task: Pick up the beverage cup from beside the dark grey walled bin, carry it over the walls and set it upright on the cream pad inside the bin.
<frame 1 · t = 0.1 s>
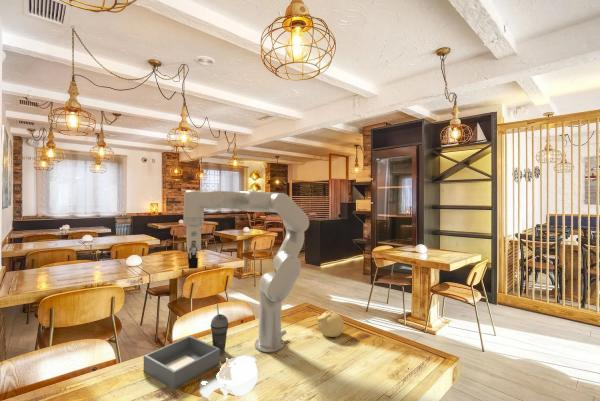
hand: (192, 265, 125), 37 cm above the table, tool pointing down, fingers open, 9 cm apart
beverage cup: (218, 352, 132), on the table
walled bin: (182, 367, 119), on the table
sculpture: (330, 334, 151), on the table
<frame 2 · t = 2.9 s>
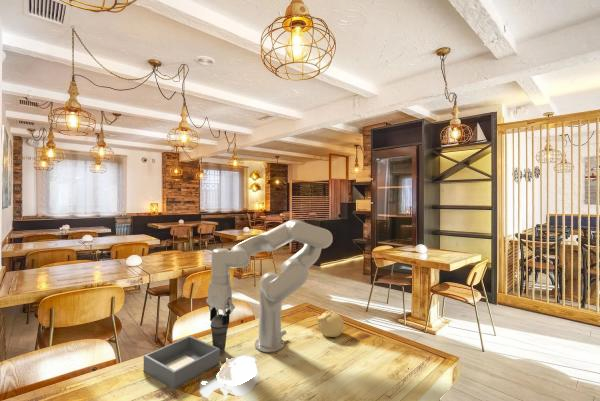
hand: (219, 321, 131), 13 cm above the table, tool pointing down, fingers closed on beverage cup, 6 cm apart
beverage cup: (218, 352, 132), on the table, touching gripper
everything else where it was.
when the fingers open (15 cm above the table, at t = 9.6 s): beverage cup drops 1 cm, resting on walled bin.
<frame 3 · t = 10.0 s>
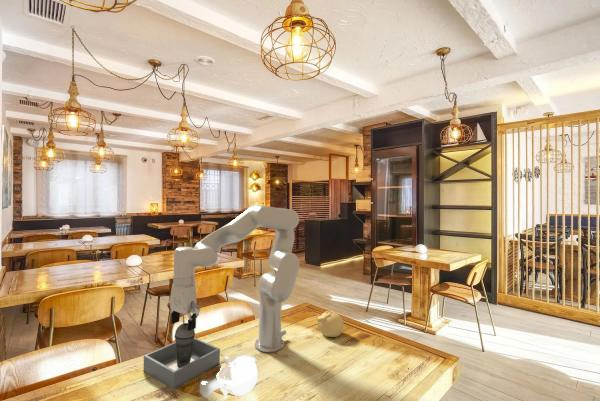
hand: (183, 325, 119), 16 cm above the table, tool pointing down, fingers open, 9 cm apart
beverage cup: (183, 365, 119), point 1 cm above the table, touching walled bin
everything else where it was.
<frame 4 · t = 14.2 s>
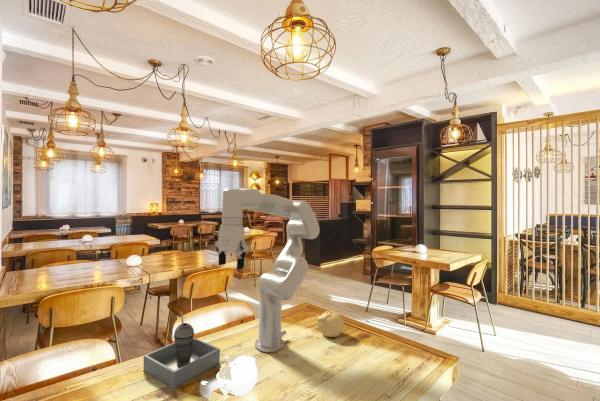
hand: (231, 266, 120), 38 cm above the table, tool pointing down, fingers open, 9 cm apart
nothing on the table moved.
at the end: beverage cup inside the target area on the walled bin (0.4 cm from its centre), point 0.9 cm above the walled bin's base; beverage cup tilted 0°; the gripper is holding nothing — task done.
